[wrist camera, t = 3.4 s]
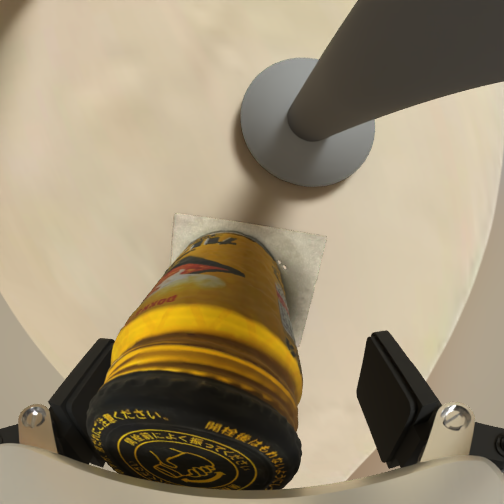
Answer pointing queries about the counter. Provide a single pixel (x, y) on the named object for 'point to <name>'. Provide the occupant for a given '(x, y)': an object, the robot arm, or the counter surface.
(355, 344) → the counter surface
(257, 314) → the condiment
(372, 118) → the stand
